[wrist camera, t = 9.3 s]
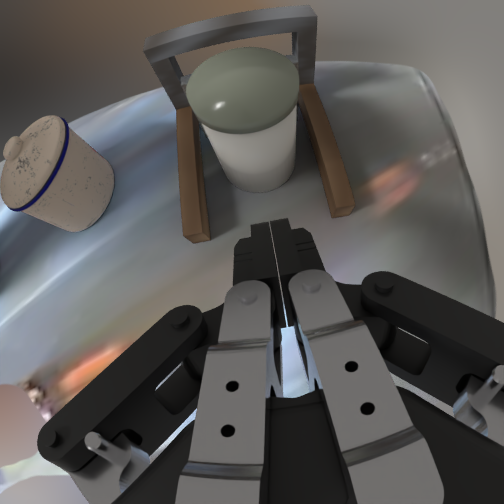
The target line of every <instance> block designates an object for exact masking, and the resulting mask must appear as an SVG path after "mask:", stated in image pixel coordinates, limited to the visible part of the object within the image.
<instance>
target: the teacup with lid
mask: <svg viewBox="0 0 504 504" xmlns="http://www.w3.org/2000/svg"><path fill="white" fill-rule="evenodd" d="M3 155H4V157H5V158H6V162H5V165H4V168H3V171H2V176H1V183H0V190H1V196H2V199H3V201H4V203H5V204H6V205H7V207H8V208H9V209H11V210H13V211H22V212H24V213H26V214H29V215H31V216H33V217H35V218H38V219H40V220H42V221H45V222H47V223H50V224H52V225H54V226H57V227H59V228H62V229H64V230H66V231H70V232H78V231H82V230H85V229H87V228H88V227H90V226H91V225H92V224H94V223H95V222H96V221H97V220H98V219H99V218H100V216H101V215H102V214H103V212H104V211H105V209H106V208H107V206H108V204H109V202H110V199H111V196H112V193H113V188H114V173H113V170H112V167H111V165H110V164H109V162H108V161H107V160H106V159H105V158H103V157H102V156H101V155H100V154H99V153H98V152H96V151H95V150H94V149H93V148H92V147H91V146H90V145H88V144H87V143H86V142H85V141H84V140H83V139H82V138H80V137H79V136H78V135H77V134H76V133H75V132H74V131H73V130H71V129H70V128H69V126H68V124H67V122H66V121H65V120H64V119H63V118H61V117H58V116H53V115H51V116H46V117H43V118H41V119H39V120H37V121H36V122H34V123H33V124H31V125H30V126H29V127H28V128H27V129H26V130H25V131H24V132H23V134H22V135H21V136H20V137H17V136H15V137H12V138H11V139H10V140H9V141H8V142H7V144H6V145H5V148H4V151H3Z"/></svg>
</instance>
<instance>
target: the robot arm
mask: <svg viewBox="0 0 504 504" xmlns="http://www.w3.org/2000/svg"><path fill="white" fill-rule="evenodd" d="M270 224H271V230H272V235H273V241H274V246H275V252H276V258H277V263H278V269H279V275H280V281H281V286H282V292H283V298H284V304H285V310H286V316H287V321H288V327H290V326H294V328H295V334H296V341H297V346H298V350H299V354H300V357H301V361H302V365H303V368H304V372H305V376H306V379H307V383H308V387H309V392H310V393H307V394H305V395H303V396H300V397H297V398H284V397H283V371H282V345H281V341H282V335H281V328H285V327H286V321H285V314H284V308H283V302H282V295H281V289H280V283H279V277H278V271H277V265H276V259H275V254H274V248H273V243H272V238H271V232H270V227H269V222H263V223H258V224H253V225H251V237H249V238H244V239H240V240H239V241H238V243H237V244H236V246H235V247H234V269H233V287H232V288H231V289H230V290H229V291H228V292H227V294H226V297H225V302H224V303H223V304H222V305H220V306H218V307H216V308H214V309H212V310H209V311H207V312H204V313H202V312H201V311H200V309H199V308H197V307H195V306H191V305H183V306H179V307H176V308H174V309H172V310H170V311H169V312H168V313H166V314H165V315H164V316H163V317H162V318H161V319H160V320H159V321H158V322H156V323H155V324H154V325H153V326H152V327H151V328H150V329H149V330H148V331H146V332H145V333H144V334H143V335H142V336H141V337H140V338H139V339H138V340H136V341H135V342H134V343H133V344H132V345H131V346H130V347H129V348H128V349H126V350H125V351H124V352H123V353H122V354H121V355H120V356H119V357H118V358H117V359H115V360H114V361H113V362H112V363H111V364H110V365H109V366H108V367H107V368H106V369H104V370H103V371H102V372H101V373H100V374H99V375H98V376H97V377H96V378H95V379H93V380H92V381H91V382H90V383H89V384H88V385H87V386H86V387H85V388H84V389H83V390H81V391H80V392H79V393H78V394H77V395H76V396H75V397H74V398H73V399H72V400H71V401H70V402H68V403H67V404H66V405H65V406H64V407H63V408H62V409H61V410H60V411H59V412H58V413H57V414H56V415H54V416H53V417H52V418H51V419H50V420H49V421H48V422H47V423H46V424H45V425H44V426H43V427H42V429H41V430H40V432H39V435H38V441H37V446H38V450H39V452H40V454H41V456H42V457H43V458H44V459H46V460H48V461H49V462H51V463H53V464H55V465H57V466H58V467H60V468H62V469H63V470H64V471H66V472H68V473H69V475H70V476H71V478H72V479H73V481H74V482H75V484H76V485H77V487H78V488H79V490H80V491H81V493H82V494H83V495H84V497H85V498H86V500H87V501H88V502H89V504H504V323H503V322H501V321H499V320H496V319H494V318H492V317H490V316H488V315H486V314H484V313H482V312H480V311H477V310H475V309H473V308H471V307H469V306H467V305H464V304H462V303H460V302H458V301H456V300H454V299H451V298H449V297H447V296H445V295H442V294H440V293H438V292H436V291H433V290H431V289H429V288H427V287H424V286H422V285H420V284H417V283H415V282H413V281H411V280H408V279H406V278H404V277H401V276H399V275H397V274H394V273H391V272H386V271H379V272H374V273H371V274H369V275H368V276H366V277H365V278H364V279H363V281H362V284H361V285H352V284H343V283H339V282H337V281H334V279H333V277H332V276H331V275H330V274H329V273H327V272H326V271H325V268H324V266H323V263H322V260H321V258H320V255H319V253H318V250H317V248H316V245H315V243H314V240H313V238H312V235H311V233H310V232H308V231H307V230H306V229H304V228H298V229H292V230H291V227H290V224H289V220H288V218H285V219H279V220H274V221H270ZM398 327H399V328H401V329H403V330H405V331H407V332H409V333H411V334H413V335H415V336H417V337H419V338H420V339H422V340H424V341H426V342H427V343H428V344H427V343H425V342H424V341H422V340H420V339H418V338H416V337H414V336H412V335H410V334H408V333H406V332H404V331H402V330H400V329H398ZM180 363H181V364H182V365H181V366H180V367H179V368H178V369H177V370H176V371H175V372H174V373H173V374H172V375H171V376H170V377H169V378H168V379H167V380H166V381H165V382H164V383H163V384H162V385H161V386H160V387H159V388H158V389H157V390H155V389H156V387H157V386H158V385H159V384H160V383H161V382H162V381H163V380H164V379H165V378H166V377H167V376H168V375H169V374H170V373H171V372H172V371H173V370H174V369H175V368H176V367H177V366H178V365H179V364H180ZM389 372H391V373H393V374H394V375H396V376H398V377H399V378H401V379H403V380H405V381H406V382H408V383H410V384H412V385H413V386H415V387H417V388H419V389H421V390H422V391H424V392H426V393H428V394H430V395H431V396H433V397H435V398H437V399H439V400H440V401H442V402H444V403H446V404H448V405H449V406H451V407H453V413H454V417H455V418H454V417H452V416H450V415H449V414H447V413H445V412H444V411H442V410H440V409H439V408H437V407H436V406H434V405H432V404H431V403H429V402H427V401H426V400H424V399H422V398H421V397H419V396H418V395H416V394H414V393H413V392H411V391H409V390H407V389H404V388H402V387H399V386H396V385H395V383H394V381H393V379H392V377H391V375H390V373H389ZM196 408H197V412H196V418H195V420H193V421H192V422H190V423H189V424H188V425H187V426H186V427H185V428H184V429H183V430H182V431H181V432H180V433H179V434H178V435H177V436H176V437H175V439H174V440H173V441H172V442H171V443H170V444H169V445H168V446H167V447H166V448H165V449H164V451H163V452H162V453H161V454H160V455H159V456H158V457H157V458H156V459H155V460H154V461H153V462H152V463H151V464H150V459H149V456H150V455H151V454H153V453H154V452H155V451H156V450H157V449H158V448H159V447H160V446H161V445H162V444H163V443H164V442H165V441H166V440H167V439H168V438H169V437H170V436H171V434H172V433H173V432H174V431H175V430H176V429H177V428H178V427H179V426H180V425H181V424H182V423H183V422H184V421H185V420H186V419H187V418H188V417H189V416H190V415H191V414H192V413H193V412H194V410H195V409H196Z"/></svg>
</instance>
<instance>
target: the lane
mask: <svg viewBox="0 0 504 504" xmlns="http://www.w3.org/2000/svg"><path fill="white" fill-rule="evenodd" d="M290 32H292V52H293V53H292V54H293V55H295V56H296V58H297V60H298V74H299V98H298V104H299V107H300V109H301V112H302V115H303V119H304V122H305V125H306V128H307V131H308V134H309V137H310V141H311V144H312V147H313V150H314V154H315V157H316V161H317V164H318V168H319V171H320V175H321V178H322V182H323V186H324V190H325V193H326V197H327V201H328V205H329V209H330V213H331V217H332V218H336V217H342V216H348V215H350V213H351V211H352V210H353V208H354V207H355V201H354V197H353V194H352V190H351V187H350V184H349V180H348V177H347V174H346V171H345V167H344V164H343V161H342V158H341V155H340V152H339V149H338V146H337V143H336V140H335V137H334V135H333V132H332V129H331V126H330V123H329V121H328V118H327V115H326V113H325V110H324V108H323V105H322V103H321V100H320V98H319V95H318V93H317V90H316V88H315V85H314V71H315V54H316V35H317V15H316V14H315V12H314V11H313V9H312V8H311V7H310V6H309V5H303V6H288V7H277V8H269V9H260V10H253V11H246V12H241V13H235V14H230V15H225V16H220V17H216V18H211V19H207V20H203V21H199V22H195V23H191V24H188V25H184V26H181V27H177V28H174V29H171V30H168V31H165V32H162V33H159V34H156V35H153V36H150V37H148V38H146V39H145V45H144V49H143V52H144V53H145V55H146V57H147V59H148V61H149V62H150V64H151V66H152V68H153V69H154V71H155V73H156V75H157V77H158V78H159V80H160V82H161V84H162V85H163V87H164V89H165V91H166V93H167V94H168V96H169V98H170V100H171V101H172V103H173V105H174V107H175V109H176V122H177V152H178V172H179V188H180V203H181V215H182V227H183V236H184V237H185V238H187V239H188V240H189V241H191V242H192V243H199V242H204V241H209V240H211V237H210V229H209V221H208V212H207V203H206V194H205V185H204V175H203V165H202V154H201V143H200V131H199V122H198V120H197V118H196V116H195V114H194V112H193V110H192V108H191V106H190V104H189V102H188V99H187V97H186V95H185V93H184V91H183V89H182V87H181V77H183V74H182V72H181V70H180V67H179V65H178V63H177V61H176V59H175V55H178V54H182V53H185V52H189V51H192V50H196V49H199V48H203V47H208V46H211V45H216V44H220V43H225V42H230V41H235V40H240V39H246V38H252V37H258V36H265V35H272V34H280V33H290Z"/></svg>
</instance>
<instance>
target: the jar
mask: <svg viewBox="0 0 504 504" xmlns="http://www.w3.org/2000/svg"><path fill="white" fill-rule="evenodd" d="M186 95H187V99H188V102H189V104H190V106H191V108H192V110H193V112H194V114H195V116H196V117H197V119H198V120H199V121H200V122H201V123H202V125H203V127H204V130H205V132H206V134H207V136H208V138H209V140H210V142H211V145H212V147H213V149H214V151H215V153H216V155H217V157H218V160H219V162H220V164H221V166H222V168H223V170H224V173H225V175H226V177H227V178H228V180H229V181H230V182H231V183H232V184H233V185H234V186H236V187H237V188H239V189H241V190H244V191H247V192H252V193H263V192H268V191H271V190H274V189H276V188H278V187H280V186H281V185H282V184H284V183H285V182H286V181H287V180H288V179H289V177H290V176H291V174H292V172H293V170H294V167H295V151H296V104H297V102H298V98H299V74H298V71H297V69H296V67H295V65H294V64H293V63H292V62H291V61H290V60H289V59H288V58H287V57H285V56H284V55H282V54H280V53H278V52H275V51H272V50H269V49H265V48H257V47H244V48H236V49H231V50H227V51H224V52H221V53H219V54H217V55H215V56H212V57H211V58H209V59H208V60H206V61H205V62H203V63H202V64H201V65H200V66H199V67H197V69H196V70H195V71H194V72H193V73H192V75H191V76H190V79H189V81H188V83H187V88H186Z"/></svg>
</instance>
